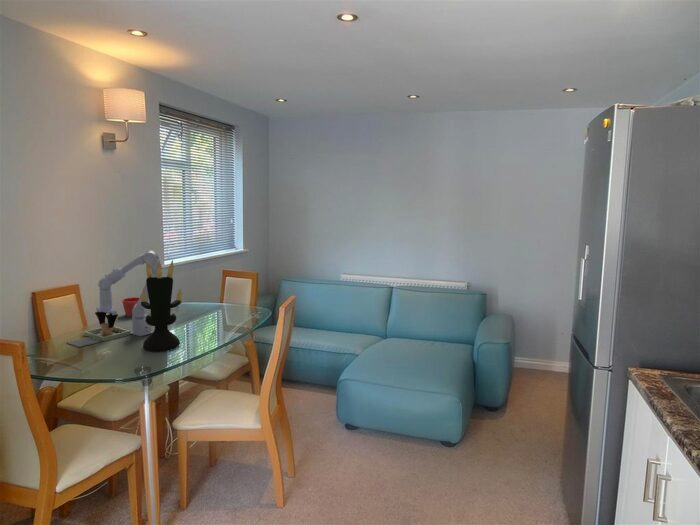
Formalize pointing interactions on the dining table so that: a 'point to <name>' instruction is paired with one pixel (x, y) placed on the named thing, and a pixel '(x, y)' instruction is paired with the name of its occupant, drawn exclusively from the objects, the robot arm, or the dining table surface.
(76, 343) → the slate tile
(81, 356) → the dining table surface
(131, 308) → the flower pot
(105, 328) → the seedling pot
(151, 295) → the candelabra
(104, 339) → the pale green square frame
